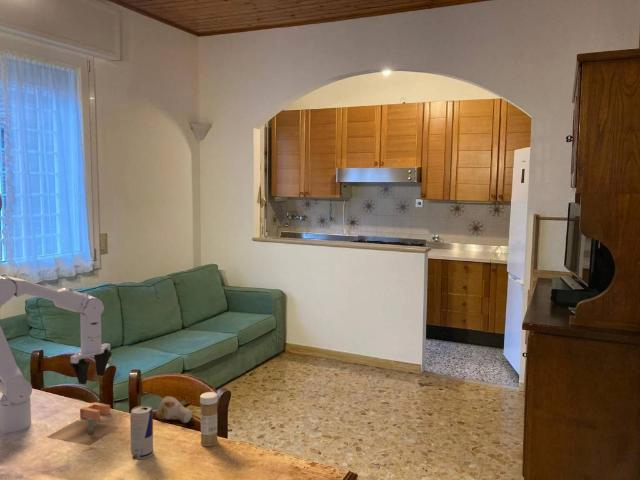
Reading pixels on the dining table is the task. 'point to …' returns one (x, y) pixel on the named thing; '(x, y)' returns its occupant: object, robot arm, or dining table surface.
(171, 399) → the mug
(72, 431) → the stand
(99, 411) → the c link
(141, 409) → the energy drink
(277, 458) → the dining table surface
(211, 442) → the sprinkles bottle
